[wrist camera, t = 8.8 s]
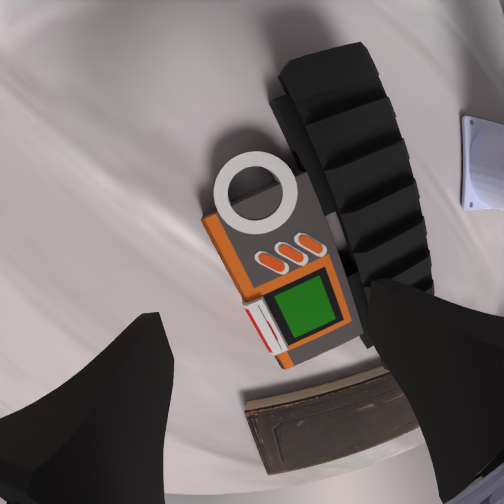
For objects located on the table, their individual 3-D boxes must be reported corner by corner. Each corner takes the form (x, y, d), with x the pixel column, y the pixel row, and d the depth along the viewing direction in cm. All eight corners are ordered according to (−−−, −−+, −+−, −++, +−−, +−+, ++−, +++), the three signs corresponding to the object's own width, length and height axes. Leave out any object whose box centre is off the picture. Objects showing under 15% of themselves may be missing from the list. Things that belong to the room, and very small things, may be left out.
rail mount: (419, 305, 23) (450, 336, 18) (359, 339, 23) (383, 377, 19) (347, 57, 15) (384, 37, 10) (259, 86, 16) (273, 66, 11)
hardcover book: (242, 395, 25) (244, 413, 23) (448, 331, 25) (460, 342, 23) (266, 463, 31) (268, 477, 28) (421, 413, 31) (428, 424, 29)
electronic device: (290, 132, 15) (366, 339, 19) (281, 136, 17) (352, 319, 22) (177, 185, 15) (282, 377, 20) (185, 181, 18) (276, 354, 23)
